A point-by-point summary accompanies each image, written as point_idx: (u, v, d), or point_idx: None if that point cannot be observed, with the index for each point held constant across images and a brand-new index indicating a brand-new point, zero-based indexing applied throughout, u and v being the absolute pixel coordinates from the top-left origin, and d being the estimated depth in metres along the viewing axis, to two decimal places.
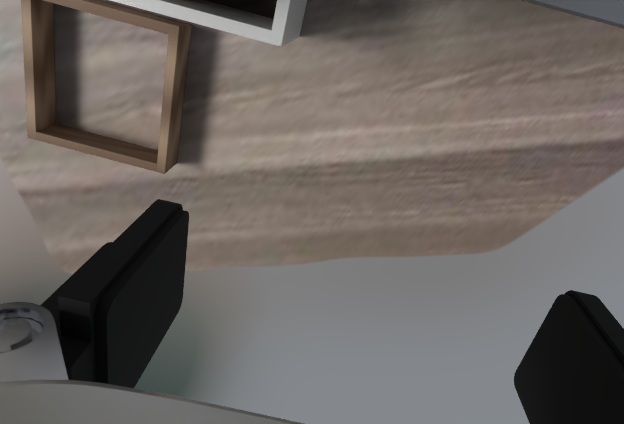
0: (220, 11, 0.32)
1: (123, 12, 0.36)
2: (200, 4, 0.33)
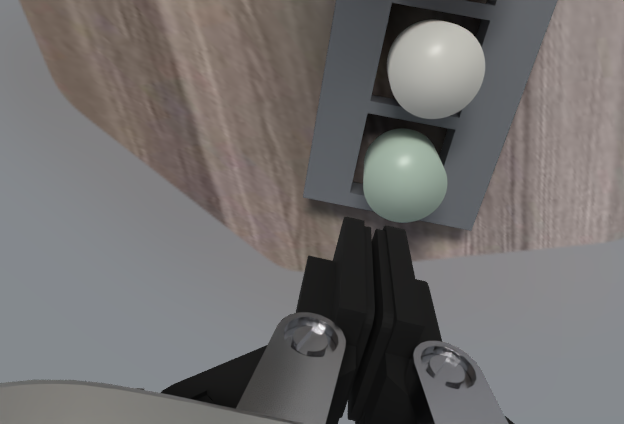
0: None
1: None
2: None
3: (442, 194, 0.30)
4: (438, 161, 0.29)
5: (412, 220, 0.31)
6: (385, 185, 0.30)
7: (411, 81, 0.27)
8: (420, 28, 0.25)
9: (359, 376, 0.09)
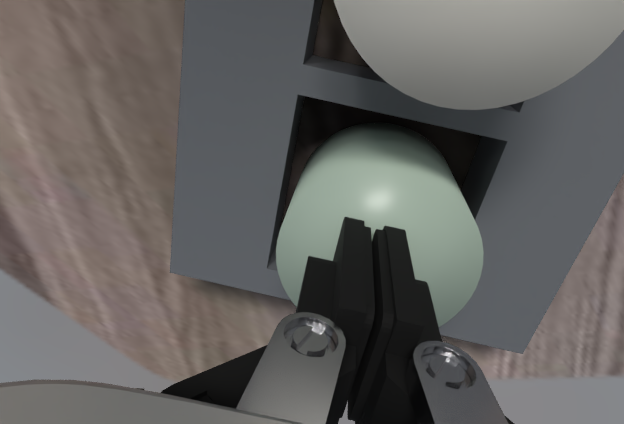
0: None
1: None
2: None
3: (468, 287, 0.12)
4: (463, 209, 0.11)
5: None
6: None
7: None
8: None
9: (359, 376, 0.09)
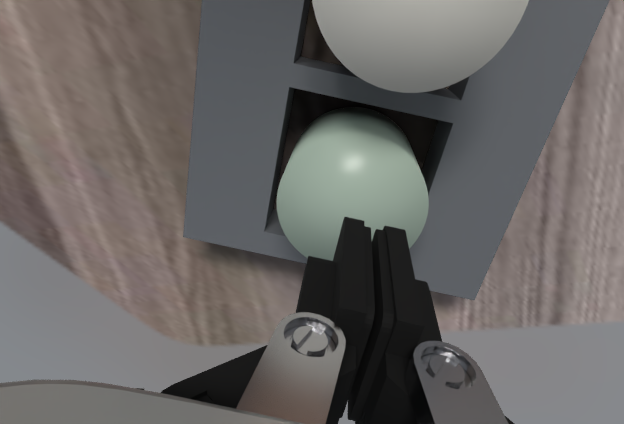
0: None
1: None
2: None
3: (419, 224, 0.16)
4: (412, 164, 0.15)
5: None
6: (317, 206, 0.16)
7: (362, 0, 0.11)
8: None
9: (359, 376, 0.09)
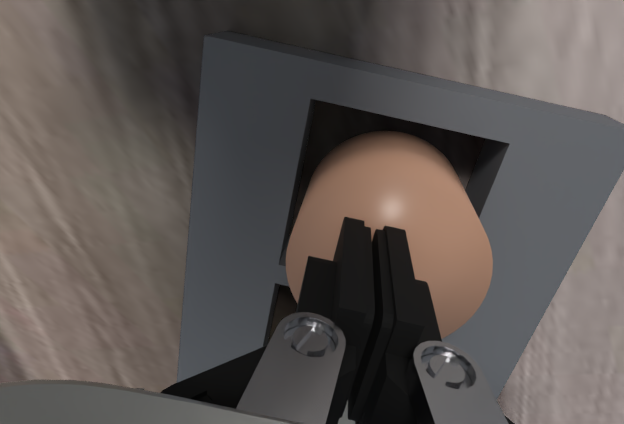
0: None
1: None
2: None
3: None
4: None
5: None
6: None
7: None
8: None
9: (359, 376, 0.09)
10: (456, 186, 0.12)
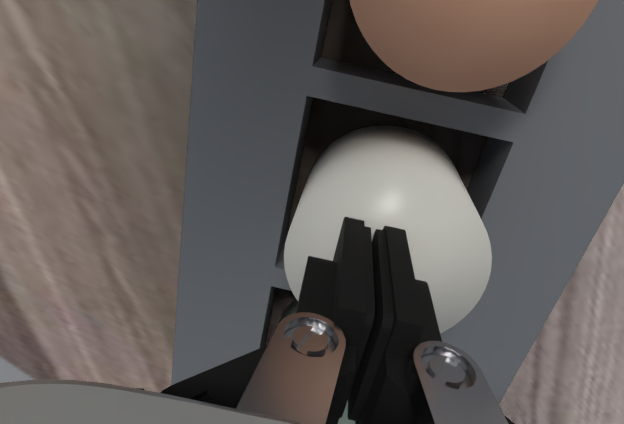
0: None
1: None
2: None
3: None
4: None
5: None
6: None
7: None
8: (346, 179, 0.11)
9: (359, 376, 0.09)
10: None
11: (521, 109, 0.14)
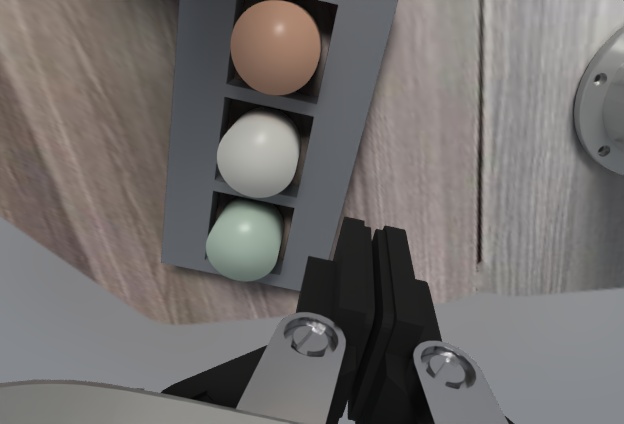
0: None
1: None
2: None
3: (274, 259, 0.34)
4: (267, 232, 0.33)
5: (252, 279, 0.35)
6: (225, 250, 0.34)
7: (236, 166, 0.31)
8: (238, 125, 0.30)
9: (359, 376, 0.09)
10: (304, 12, 0.27)
11: (317, 102, 0.32)
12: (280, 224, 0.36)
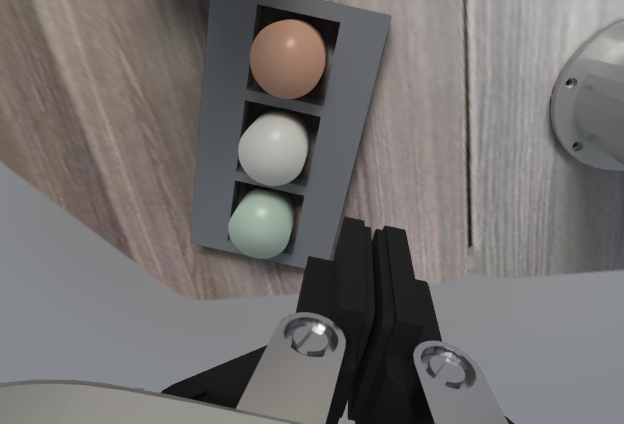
0: None
1: None
2: None
3: (286, 239, 0.40)
4: (280, 215, 0.39)
5: (267, 257, 0.41)
6: (245, 231, 0.40)
7: (254, 159, 0.37)
8: (256, 124, 0.35)
9: (359, 376, 0.09)
10: (311, 29, 0.33)
11: (323, 104, 0.37)
12: (292, 210, 0.42)
